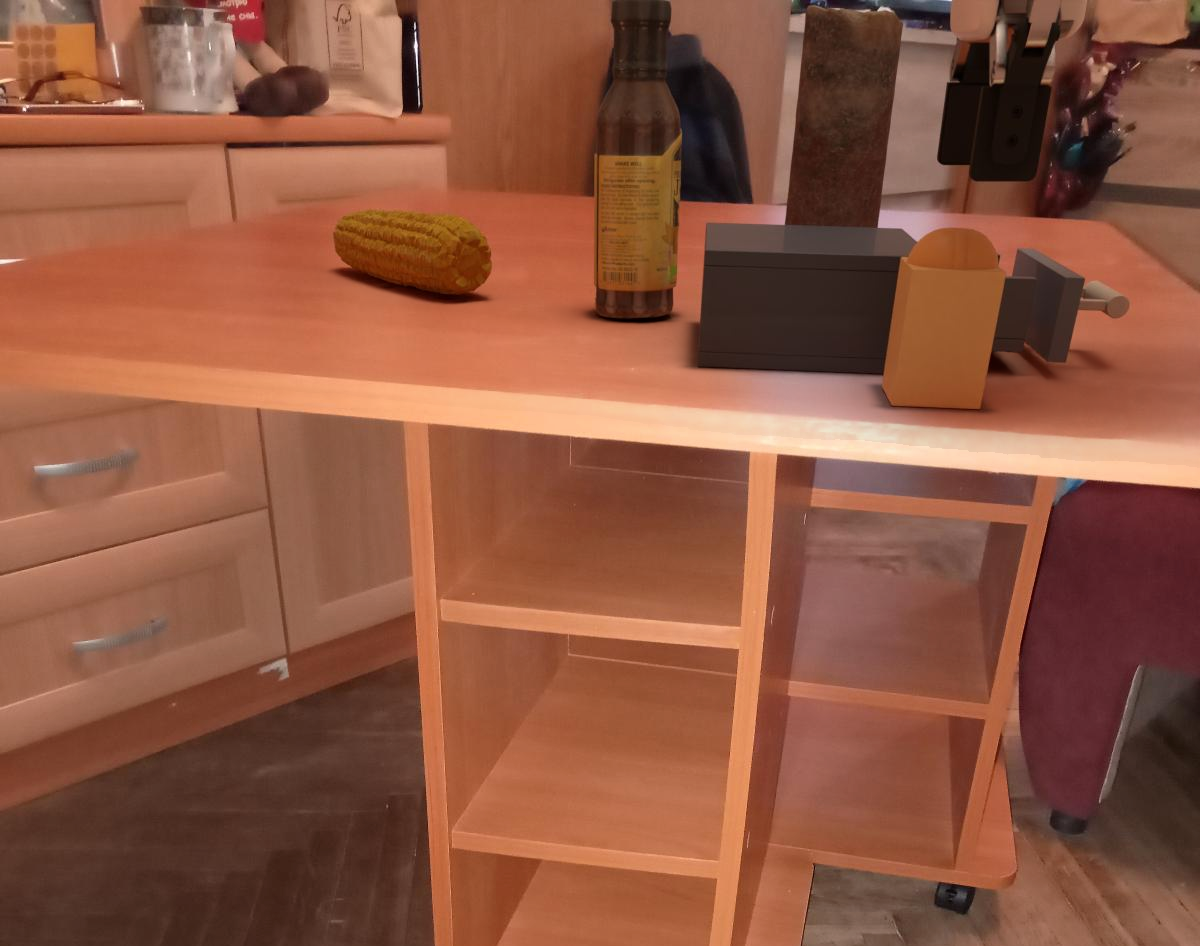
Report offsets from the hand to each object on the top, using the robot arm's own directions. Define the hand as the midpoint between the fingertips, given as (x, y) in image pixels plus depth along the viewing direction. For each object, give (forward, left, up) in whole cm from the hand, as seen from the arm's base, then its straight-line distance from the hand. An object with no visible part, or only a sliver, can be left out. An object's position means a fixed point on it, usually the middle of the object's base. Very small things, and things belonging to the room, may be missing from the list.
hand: (982, 172), depth 61 cm
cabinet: (+8, -13, -12) cm, 19 cm away
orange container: (+1, 0, -12) cm, 12 cm away
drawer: (-4, -13, -11) cm, 17 cm away
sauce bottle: (+20, -23, -12) cm, 32 cm away
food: (+40, -33, -12) cm, 53 cm away
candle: (+5, -31, -12) cm, 33 cm away
